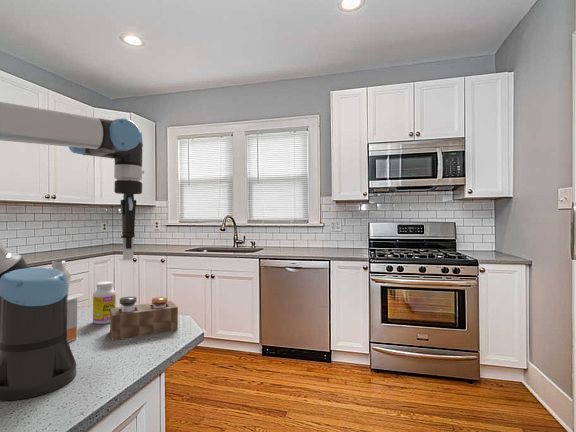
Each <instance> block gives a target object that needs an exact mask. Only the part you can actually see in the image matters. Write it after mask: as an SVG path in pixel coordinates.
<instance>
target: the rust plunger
mask: <svg viewBox="0 0 576 432" xmlns="http://www.w3.org/2000/svg"><path fill="white" fill-rule="evenodd" d="M167 301H168V297H167V296H158V297H153V298H151V303H152V304H154V306H153V309H155V308H163V307H166V303H167Z"/></svg>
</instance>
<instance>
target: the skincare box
mask: <svg viewBox="0 0 576 432" xmlns="http://www.w3.org/2000/svg"><path fill="white" fill-rule="evenodd" d="M77 333H78V297H74V296H68V299H67V341H68V343H70V342H73V341H76V340H77V335H78V334H77Z"/></svg>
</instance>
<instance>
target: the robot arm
mask: <svg viewBox="0 0 576 432" xmlns="http://www.w3.org/2000/svg"><path fill="white" fill-rule="evenodd" d="M0 141H2V142H13V143H14V142H16V143H26V144H35V145H36V144H37V145H48V146H59V147H68V148H69V150H70V152H72V153H73V154H78V155H81V156H91V157H100V158H107V159H108V158H109V159H113V160H114V175H113V176H114V177H113V178H114V179H115V181H114V193H115V194H120V195H123V196H122V199H120V207H121V208H120V209H121V212H120V213H121V222H122V223H121V225H122V227H121V229H122V231H121V234H122V235H121V237H120V238H121V239H122V260H123V261H125V260H126V261H129V260H134V238H135V237H136V235H135V227H136V226H135V224H136V223H135V222H136V221H135V220H136V207H137V199H135V195H142V193H143V183H142V180H143V174H145V170H142V169H143V147H144V144H143V143H144V141H143V133H142V131H141V130H140V129H139V127H138V126H137V124H136V123H134V122H133V121H132V120H130V119H128V118H115V119H113V120H110V119H106V118H99V117H93V116H88V115H80V114H76V113H70V112H64V111H63V112H62V111H58V110H52V109H45V108H39V107H33V106H28V105H27V106H26V105H21V104H17V103H16V104H15V103H8V102H3V101H0ZM68 297H69V292H68V284H67V277H66V275H65V274H64V273H63V272H61V271H59V270H56V269H53V268H47V267H46V268H45V267H30V266H29V264H28V263H27V261H25V259H24V258H23V257H22V255H21V254H19V253H12V252H9V251H8V250H7V248H6V247H5V246H4V245H3V243H2V241H0V401H16V400H24V399H29V398H34V397H38V396H40V395H45V394H47V393H50V392H53V391H55V390H57V389H60V388H62V387H64V386H65V385H67V384H68V383H70V382H71V381H73V380H74V379H75V377H76V376H77V362H76V359H75V356H74V353H73V352H72V349H71V346H70V344H69V342H68V341H67V299H68Z"/></svg>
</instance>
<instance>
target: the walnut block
mask: <svg viewBox="0 0 576 432" xmlns="http://www.w3.org/2000/svg"><path fill="white" fill-rule="evenodd" d="M153 306H154V304H152V302H151V303H143V304H136V305H135V311H131V312H124V313H121V311H122V306H117V307H115V308H110V323H109V332H111V333H110V337H111V340H112V341H117V340H118V339H119V340H122V339H123V340H125V339H129V338H135V337H136V338H137V337H143V336H149V335H155V334H160V333H168V332H174V331H177V330H178V329H179V328H178V327H179V324H178V322H179V321H178V319H179V317H178V316H179V314H178V313H179V309H178V306H177V305H176V304H175V303H174V301H172V300H167V303H166V307H163V308H155V309H153Z"/></svg>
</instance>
